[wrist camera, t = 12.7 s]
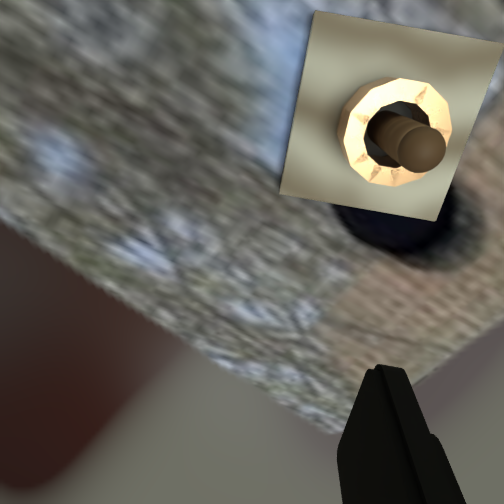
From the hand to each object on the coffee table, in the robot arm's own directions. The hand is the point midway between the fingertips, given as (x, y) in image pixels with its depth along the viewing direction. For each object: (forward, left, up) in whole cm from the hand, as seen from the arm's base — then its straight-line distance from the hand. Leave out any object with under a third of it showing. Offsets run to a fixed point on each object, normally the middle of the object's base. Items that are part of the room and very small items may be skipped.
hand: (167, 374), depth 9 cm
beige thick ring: (-4, +10, -25) cm, 27 cm away
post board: (-4, +10, -28) cm, 30 cm away
